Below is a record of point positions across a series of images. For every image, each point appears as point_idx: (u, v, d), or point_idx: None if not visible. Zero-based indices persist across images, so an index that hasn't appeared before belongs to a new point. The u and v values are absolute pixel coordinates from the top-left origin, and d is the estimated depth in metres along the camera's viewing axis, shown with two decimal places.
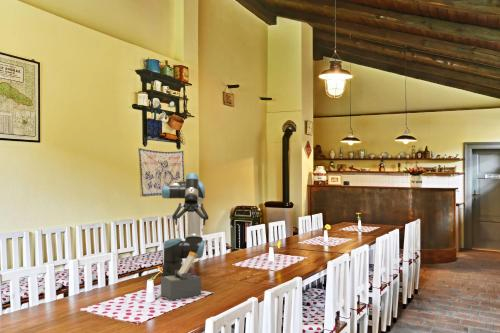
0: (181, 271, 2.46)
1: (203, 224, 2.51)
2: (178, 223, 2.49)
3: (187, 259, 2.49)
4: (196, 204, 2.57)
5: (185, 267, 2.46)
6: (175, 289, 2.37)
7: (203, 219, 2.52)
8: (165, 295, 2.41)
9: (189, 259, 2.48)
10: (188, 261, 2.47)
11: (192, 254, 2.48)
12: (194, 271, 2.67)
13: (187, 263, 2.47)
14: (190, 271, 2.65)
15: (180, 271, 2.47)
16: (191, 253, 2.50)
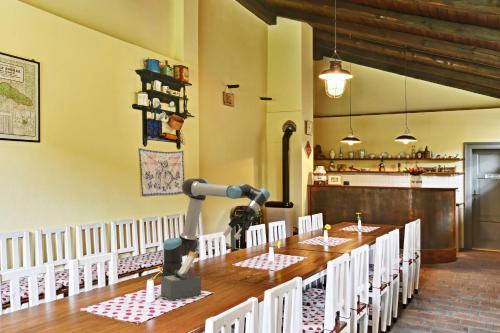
0: (181, 271, 2.46)
1: None
2: None
3: (187, 259, 2.49)
4: None
5: (185, 267, 2.46)
6: (175, 289, 2.37)
7: None
8: (165, 295, 2.41)
9: (189, 259, 2.48)
10: (188, 261, 2.47)
11: (192, 254, 2.48)
12: (194, 271, 2.67)
13: (187, 263, 2.47)
14: (190, 271, 2.65)
15: (180, 271, 2.47)
16: (191, 253, 2.50)
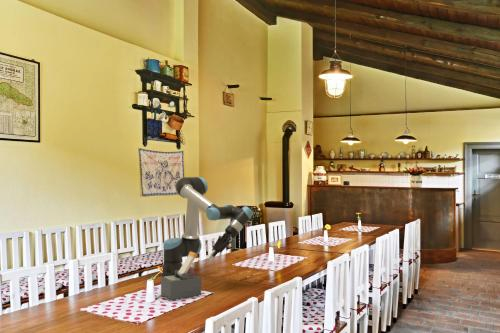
0: (181, 271, 2.46)
1: None
2: None
3: (187, 259, 2.49)
4: None
5: (185, 267, 2.46)
6: (175, 289, 2.37)
7: None
8: (165, 295, 2.41)
9: (189, 259, 2.48)
10: (188, 261, 2.47)
11: (192, 254, 2.48)
12: (194, 271, 2.67)
13: (187, 263, 2.47)
14: (190, 271, 2.65)
15: (180, 271, 2.47)
16: (191, 253, 2.50)
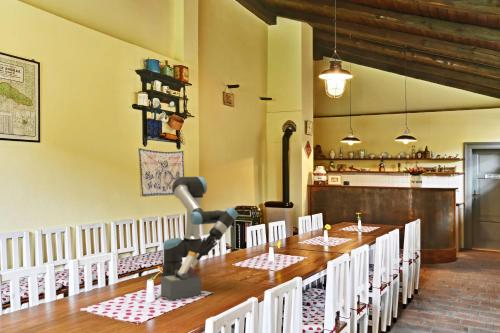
0: (181, 271, 2.46)
1: None
2: (197, 260, 2.50)
3: (187, 259, 2.49)
4: None
5: (185, 267, 2.45)
6: (175, 289, 2.37)
7: None
8: (165, 295, 2.41)
9: (189, 259, 2.48)
10: (188, 261, 2.47)
11: (191, 254, 2.48)
12: (194, 271, 2.67)
13: (187, 263, 2.47)
14: (190, 271, 2.65)
15: (180, 271, 2.47)
16: (190, 253, 2.50)
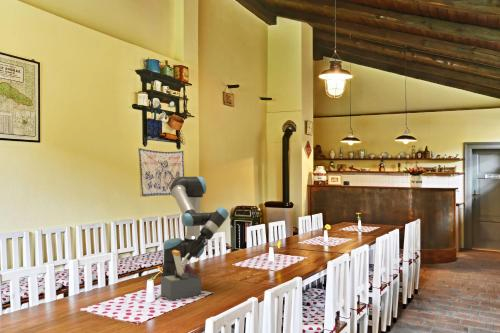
0: (179, 272, 2.45)
1: None
2: None
3: (175, 259, 2.45)
4: None
5: (179, 268, 2.44)
6: (175, 289, 2.37)
7: None
8: (165, 295, 2.41)
9: (176, 259, 2.44)
10: (177, 261, 2.44)
11: (175, 254, 2.43)
12: (194, 271, 2.67)
13: (178, 263, 2.44)
14: (190, 271, 2.65)
15: (178, 272, 2.46)
16: (174, 253, 2.44)
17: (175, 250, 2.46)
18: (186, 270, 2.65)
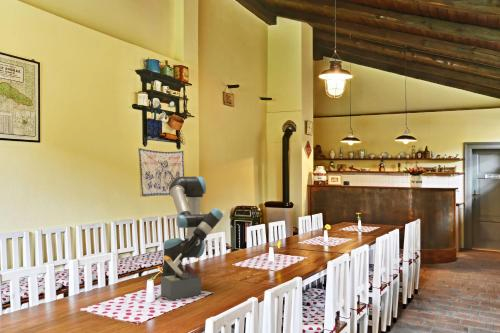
0: (178, 273, 2.45)
1: None
2: None
3: (169, 264, 2.43)
4: None
5: (176, 270, 2.43)
6: (175, 289, 2.37)
7: None
8: (165, 295, 2.41)
9: (170, 264, 2.42)
10: (172, 266, 2.42)
11: (167, 261, 2.40)
12: (194, 271, 2.67)
13: (173, 267, 2.42)
14: (190, 271, 2.65)
15: (178, 273, 2.46)
16: (165, 260, 2.41)
17: (165, 256, 2.42)
18: (186, 270, 2.65)
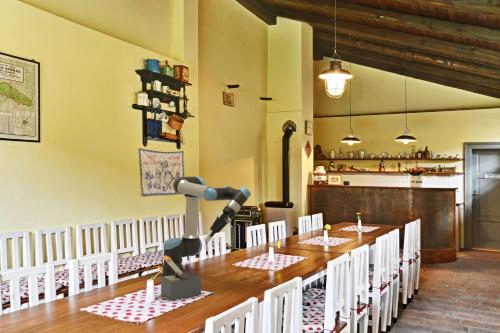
0: (178, 273, 2.45)
1: None
2: (210, 237, 2.55)
3: (169, 264, 2.43)
4: None
5: (176, 270, 2.43)
6: (175, 289, 2.37)
7: None
8: (165, 295, 2.41)
9: (170, 264, 2.42)
10: (172, 266, 2.42)
11: (167, 261, 2.40)
12: (194, 271, 2.67)
13: (173, 267, 2.42)
14: (190, 271, 2.65)
15: (178, 273, 2.46)
16: (165, 260, 2.41)
17: (165, 256, 2.42)
18: (186, 270, 2.65)
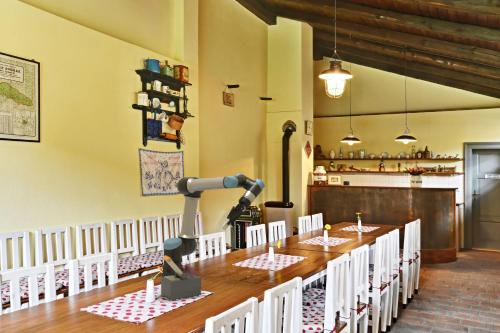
0: (178, 273, 2.45)
1: None
2: (227, 225, 2.69)
3: (169, 264, 2.43)
4: None
5: (176, 270, 2.43)
6: (175, 289, 2.37)
7: None
8: (165, 295, 2.41)
9: (170, 264, 2.42)
10: (172, 266, 2.42)
11: (167, 261, 2.40)
12: (194, 271, 2.67)
13: (173, 267, 2.42)
14: (190, 271, 2.65)
15: (178, 273, 2.46)
16: (165, 260, 2.41)
17: (165, 256, 2.42)
18: (186, 270, 2.65)
